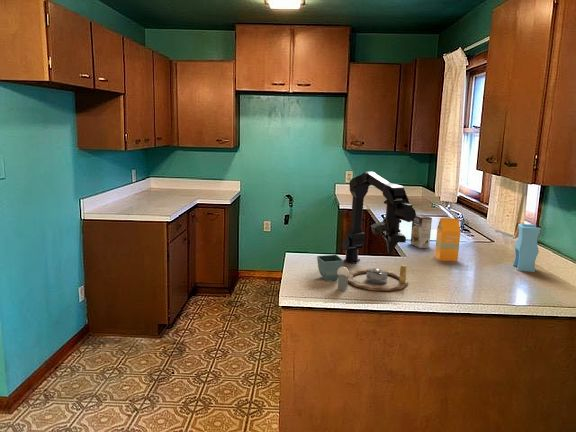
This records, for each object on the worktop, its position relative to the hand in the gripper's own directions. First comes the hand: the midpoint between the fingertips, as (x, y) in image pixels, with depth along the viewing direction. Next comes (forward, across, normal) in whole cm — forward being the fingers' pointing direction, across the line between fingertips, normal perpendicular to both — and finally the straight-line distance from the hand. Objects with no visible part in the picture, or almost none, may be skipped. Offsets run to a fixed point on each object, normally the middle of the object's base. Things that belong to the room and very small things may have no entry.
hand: (389, 253), depth 194 cm
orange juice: (+12, -29, +38) cm, 49 cm away
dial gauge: (+11, +12, -22) cm, 27 cm away
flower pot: (+12, -1, -24) cm, 27 cm away
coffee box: (+13, -53, +34) cm, 64 cm away
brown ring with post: (+11, +3, -6) cm, 13 cm away
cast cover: (+11, +3, -6) cm, 13 cm away
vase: (+11, -12, +67) cm, 69 cm away
